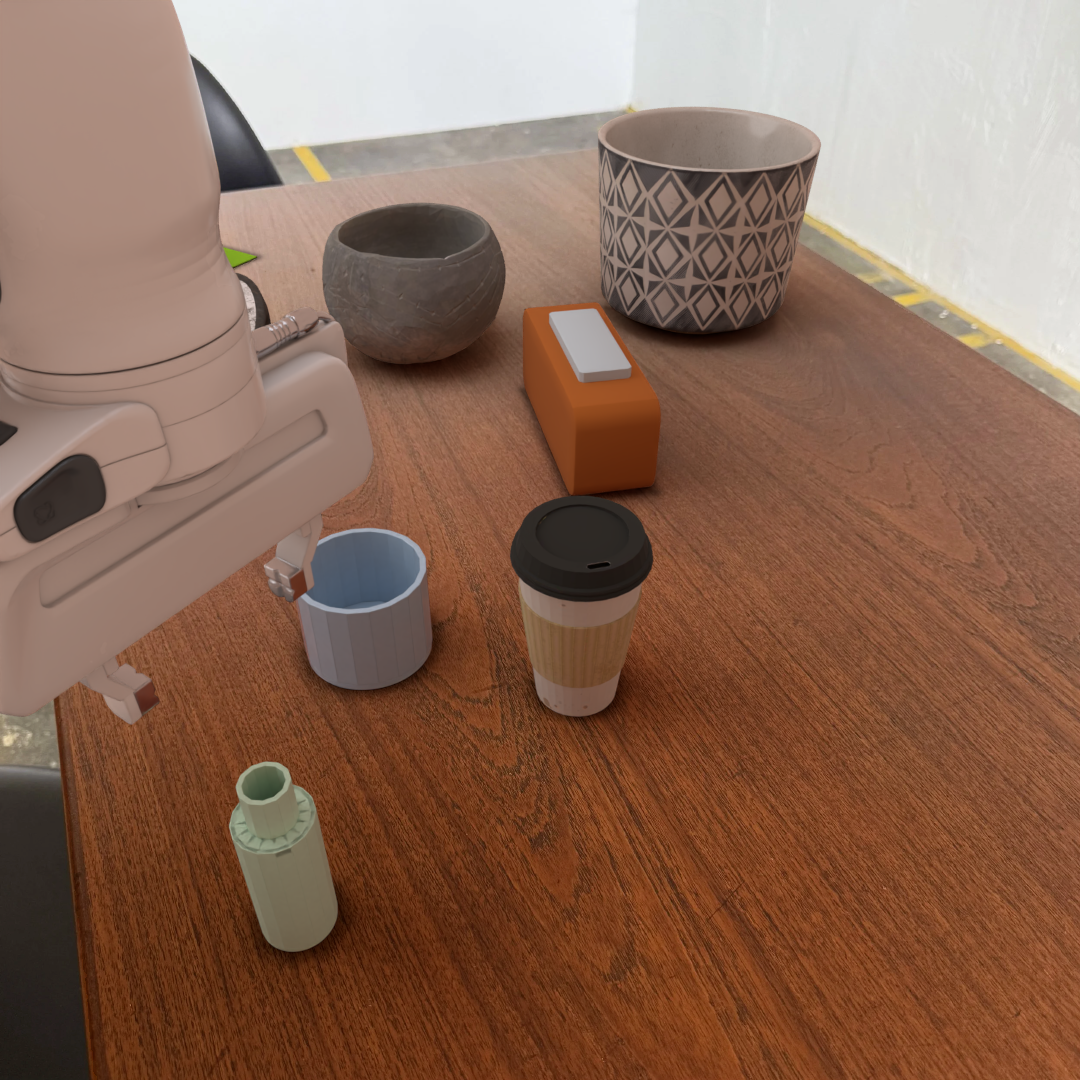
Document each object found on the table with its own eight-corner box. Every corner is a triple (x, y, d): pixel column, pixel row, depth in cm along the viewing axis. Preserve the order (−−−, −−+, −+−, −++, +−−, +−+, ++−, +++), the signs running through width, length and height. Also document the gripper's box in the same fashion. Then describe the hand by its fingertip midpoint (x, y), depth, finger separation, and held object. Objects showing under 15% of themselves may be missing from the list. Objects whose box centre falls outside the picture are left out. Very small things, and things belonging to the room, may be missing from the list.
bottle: (270, 964, 57) (227, 832, 49) (254, 899, 60) (211, 765, 52) (346, 933, 58) (317, 800, 50) (326, 871, 62) (295, 737, 54)
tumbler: (326, 706, 73) (311, 629, 68) (293, 623, 80) (278, 547, 75) (450, 666, 76) (445, 589, 71) (409, 590, 83) (401, 515, 78)
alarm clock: (655, 494, 94) (665, 392, 87) (572, 505, 93) (575, 402, 86) (592, 377, 113) (596, 285, 106) (522, 384, 111) (521, 291, 104)
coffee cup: (616, 631, 79) (627, 481, 70) (658, 720, 72) (677, 565, 62) (499, 653, 77) (494, 501, 68) (530, 747, 70) (530, 590, 60)
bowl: (452, 298, 130) (446, 185, 120) (540, 359, 116) (541, 237, 107) (305, 337, 120) (286, 218, 111) (382, 409, 107) (368, 280, 97)
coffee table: (202, 340, 119) (185, 267, 114) (274, 333, 121) (261, 261, 115) (197, 447, 100) (177, 366, 95) (283, 437, 102) (268, 356, 96)
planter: (700, 256, 142) (718, 96, 128) (832, 322, 125) (869, 146, 111) (552, 296, 130) (555, 125, 117) (675, 375, 113) (695, 185, 100)
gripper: (285, 276, 45) (327, 513, 54) (-173, 486, 32) (-19, 756, 40) (386, 308, 42) (414, 554, 51) (-70, 554, 29) (72, 829, 38)
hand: (219, 646), depth 45 cm, fingers open, 8 cm apart
